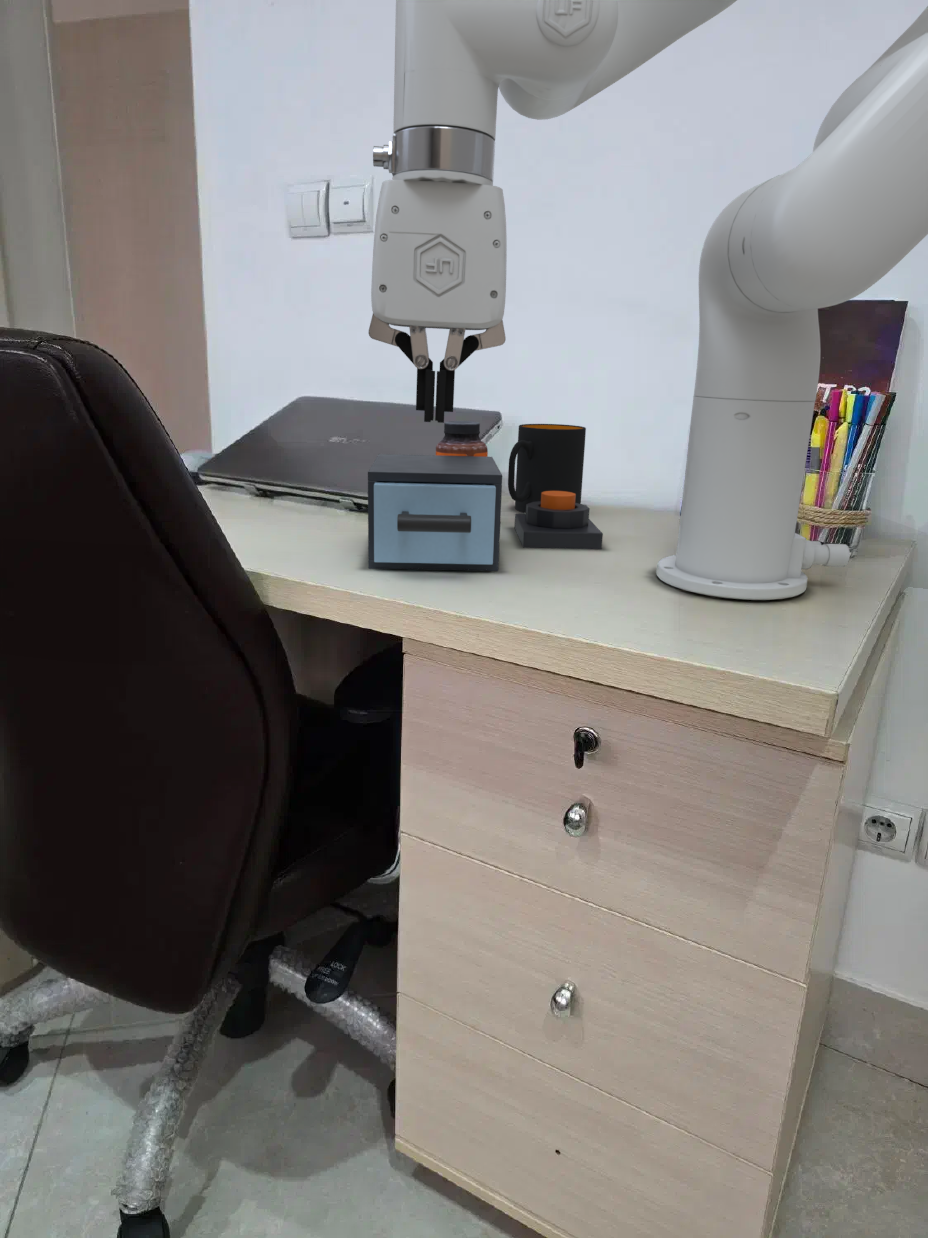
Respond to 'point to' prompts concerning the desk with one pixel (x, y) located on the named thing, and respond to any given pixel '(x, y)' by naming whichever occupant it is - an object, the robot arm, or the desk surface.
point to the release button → (558, 500)
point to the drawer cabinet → (437, 472)
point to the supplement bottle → (461, 440)
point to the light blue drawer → (434, 522)
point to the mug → (546, 462)
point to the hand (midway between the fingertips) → (434, 420)
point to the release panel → (557, 528)
